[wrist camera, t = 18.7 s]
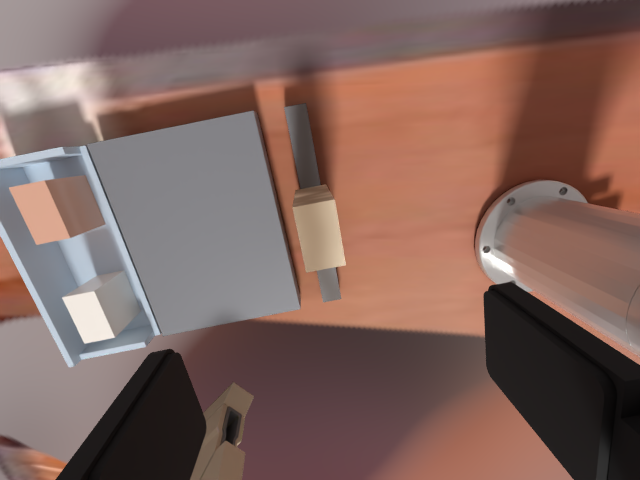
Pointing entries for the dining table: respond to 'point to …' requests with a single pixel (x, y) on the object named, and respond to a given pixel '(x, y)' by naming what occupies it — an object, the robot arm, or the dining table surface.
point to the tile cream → (102, 306)
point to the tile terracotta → (58, 208)
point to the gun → (223, 437)
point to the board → (201, 221)
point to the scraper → (314, 208)
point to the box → (70, 254)
